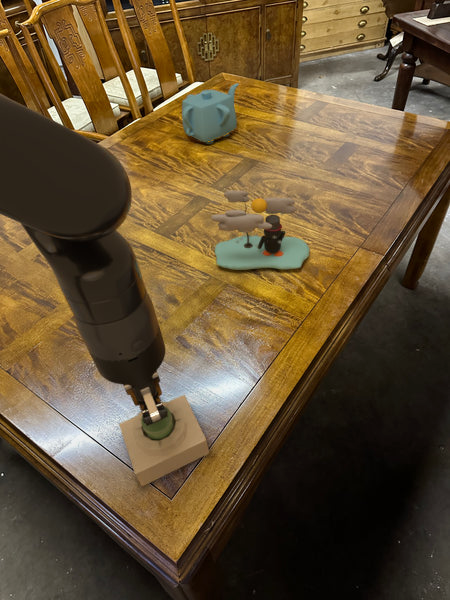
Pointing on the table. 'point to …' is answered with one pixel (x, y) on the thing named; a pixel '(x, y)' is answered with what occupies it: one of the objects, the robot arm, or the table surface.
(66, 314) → the table surface
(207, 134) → the teapot
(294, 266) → the penguin figurine
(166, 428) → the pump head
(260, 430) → the table surface
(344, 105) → the table surface
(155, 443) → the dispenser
